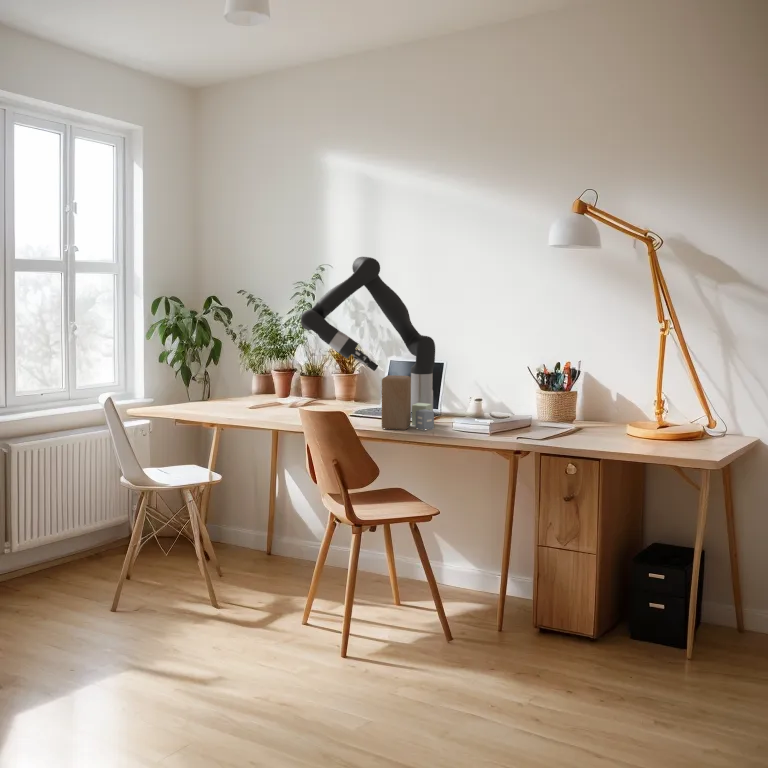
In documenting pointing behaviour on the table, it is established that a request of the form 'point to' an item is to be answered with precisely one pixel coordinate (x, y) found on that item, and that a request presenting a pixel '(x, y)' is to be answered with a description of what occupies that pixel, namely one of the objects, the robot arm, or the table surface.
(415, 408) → the sage block
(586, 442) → the table surface
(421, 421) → the slate block
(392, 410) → the block
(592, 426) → the table surface
